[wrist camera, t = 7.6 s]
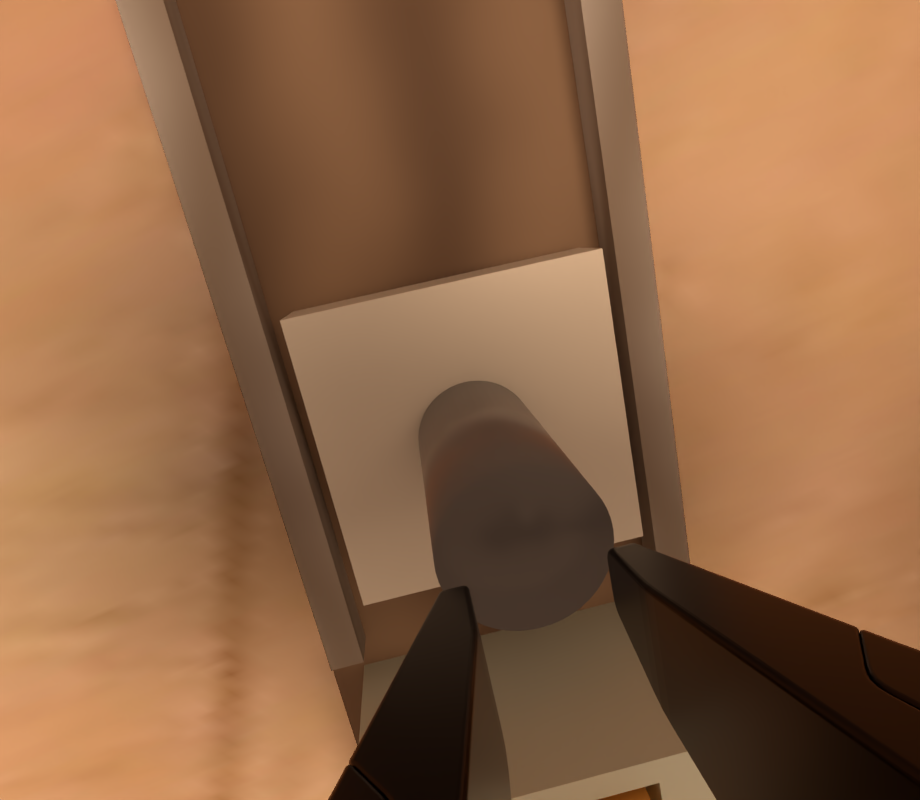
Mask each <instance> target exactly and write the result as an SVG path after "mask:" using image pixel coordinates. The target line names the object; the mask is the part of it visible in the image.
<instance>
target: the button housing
mask: <svg viewBox="0 0 920 800" xmlns="http://www.w3.org/2000/svg"><path fill="white" fill-rule="evenodd" d="M481 640H482V644H483V649H484V653H485V658H486V662H487V666H488V671H489V675H490V679H491V684H492V688H493V693H494V697H495V701H496V706H497V710H498V715H499V719H500V723H501V728H502V732H503V737H504V743H505V748H506V755H507V762H508V770H509V780H510V790H511V799H512V800H598V799H601V798H605V797H609V796H612V795H616V794H620V793H624V792H627V791H631V790H635V789H638V788H642V787H645V788H646V790H647V792H648V794H649V797H650V799H651V800H716V798H715V797H714V795H713V793H712V792H711V790H710V788H709V787H708V785H707V783H706V782H705V780H704V778H703V777H702V775H701V773H700V772H699V770H698V769H697V767H696V765H695V764H694V762H693V760H692V759H691V757H690V755H689V754H688V752H687V750H686V749H685V747H684V745H683V744H682V742H681V740H680V739H679V737H678V735H677V734H676V732H675V730H674V729H673V727H672V725H671V724H670V722H669V720H668V718H667V717H666V715H665V713H664V711H663V709H662V708H661V705H660V703H659V701H658V699H657V697H656V695H655V693H654V691H653V689H652V687H651V684H650V682H649V680H648V678H647V676H646V673H645V671H644V669H643V667H642V665H641V663H640V660H639V658H638V656H637V654H636V652H635V649H634V647H633V645H632V643H631V641H630V638H629V636H628V634H627V632H626V630H625V628H624V625H623V623H622V621H621V619H620V617H619V614H618V612H617V609H616V606H615V602H611V603H607V604H603V605H599V606H595V607H591V608H587V609H583V610H580V611H576V612H574V613H573V614H571V615H570V616H568V617H566V618H564V619H563V620H561V621H558V622H556V623H554V624H552V625H548V626H545V627H542V628H538V629H533V630H524V631H506V630H501V631H497V632H493V633H489V634H485V635H481ZM405 656H406V655H403V656H399V657H395V658H391V659H387V660H383V661H379V662H375V663H371V664H367V665H364V676H363V690H362V705H361V719H360V734H359V742H360V740H361V738H362V737H363V735H364V733H365V731H366V729H367V727H368V725H369V723H370V722H371V720H372V718H373V716H374V714H375V712H376V710H377V709H378V707H379V705H380V703H381V701H382V699H383V697H384V695H385V694H386V692H387V690H388V688H389V686H390V684H391V682H392V681H393V679H394V677H395V675H396V673H397V671H398V669H399V668H400V666H401V664H402V662H403V660H404V658H405Z"/></svg>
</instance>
